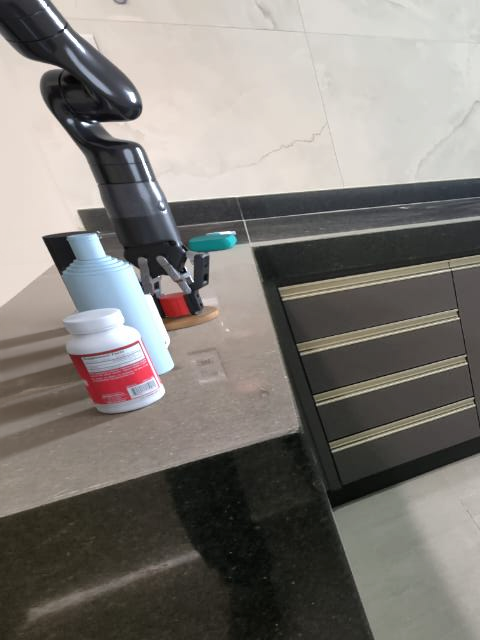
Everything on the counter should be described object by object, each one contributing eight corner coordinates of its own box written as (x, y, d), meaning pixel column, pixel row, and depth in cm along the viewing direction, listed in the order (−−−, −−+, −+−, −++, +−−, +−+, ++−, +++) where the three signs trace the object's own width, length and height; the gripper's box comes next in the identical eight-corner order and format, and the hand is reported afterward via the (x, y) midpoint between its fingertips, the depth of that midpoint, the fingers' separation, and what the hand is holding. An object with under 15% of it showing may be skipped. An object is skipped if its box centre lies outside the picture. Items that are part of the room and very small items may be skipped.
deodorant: (108, 316, 94) (69, 231, 88) (140, 315, 94) (102, 230, 88) (74, 327, 89) (30, 238, 83) (108, 327, 88) (66, 237, 82)
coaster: (131, 333, 85) (129, 328, 85) (165, 314, 94) (163, 309, 94) (202, 326, 87) (200, 321, 87) (229, 308, 96) (227, 303, 96)
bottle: (100, 386, 67) (28, 242, 60) (130, 366, 73) (68, 232, 65) (158, 379, 69) (95, 237, 61) (183, 360, 74) (129, 228, 67)
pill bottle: (112, 396, 64) (69, 310, 60) (174, 386, 66) (137, 302, 62) (87, 420, 59) (39, 327, 55) (155, 408, 61) (114, 318, 57)
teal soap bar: (187, 253, 143) (200, 241, 163) (235, 248, 148) (242, 236, 168) (182, 242, 142) (196, 231, 162) (232, 237, 147) (239, 227, 167)
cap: (199, 311, 90) (192, 293, 89) (170, 318, 87) (162, 300, 86) (191, 308, 92) (183, 290, 91) (162, 314, 90) (154, 297, 88)
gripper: (203, 206, 88) (238, 304, 95) (102, 212, 85) (146, 313, 92) (179, 212, 81) (219, 317, 88) (69, 218, 78) (119, 327, 85)
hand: (181, 314), depth 90 cm, fingers closed on cap, 4 cm apart
